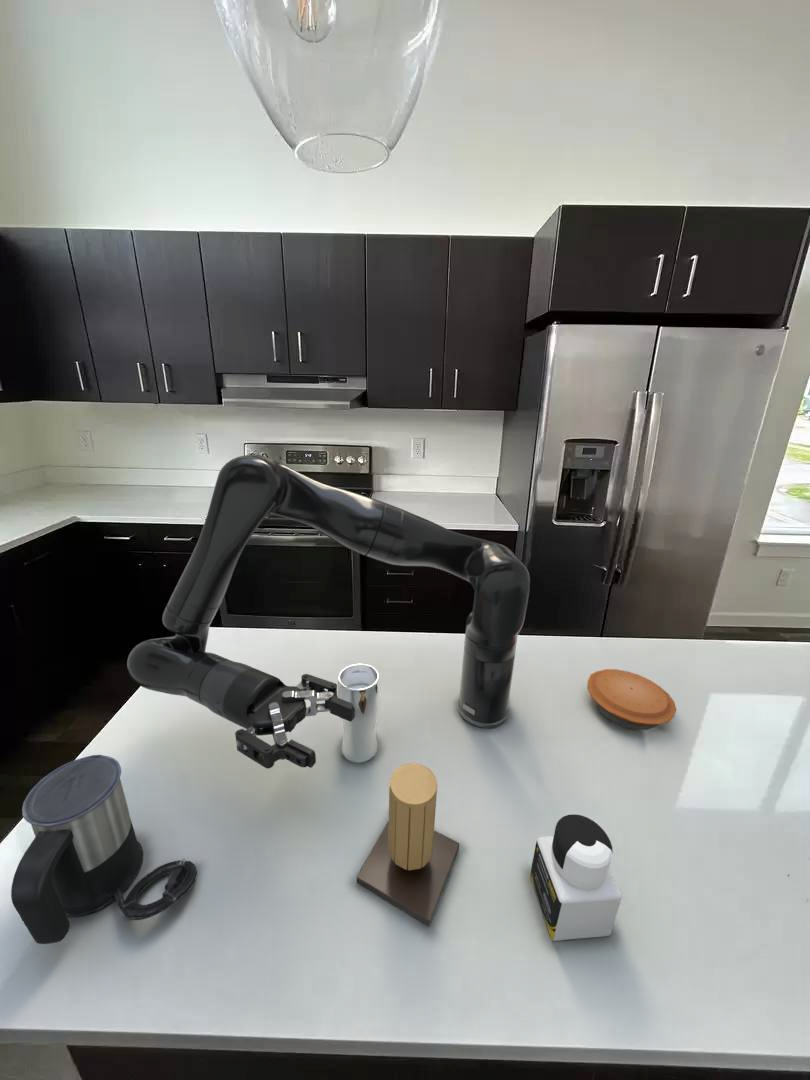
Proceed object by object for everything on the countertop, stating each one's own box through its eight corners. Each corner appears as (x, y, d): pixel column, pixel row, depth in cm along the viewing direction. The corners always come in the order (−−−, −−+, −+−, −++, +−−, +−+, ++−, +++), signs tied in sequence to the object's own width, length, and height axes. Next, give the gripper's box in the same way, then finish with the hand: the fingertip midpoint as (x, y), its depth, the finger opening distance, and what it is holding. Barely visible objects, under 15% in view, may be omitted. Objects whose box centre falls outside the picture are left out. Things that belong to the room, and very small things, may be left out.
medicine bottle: (528, 874, 55) (541, 807, 51) (581, 870, 55) (598, 803, 51) (551, 942, 48) (568, 871, 44) (611, 937, 49) (633, 866, 45)
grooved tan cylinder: (400, 817, 58) (402, 756, 54) (440, 837, 55) (445, 774, 52) (380, 855, 53) (380, 790, 49) (422, 879, 51) (426, 813, 47)
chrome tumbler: (373, 769, 69) (373, 694, 64) (333, 761, 70) (330, 686, 65) (384, 736, 76) (385, 666, 70) (346, 729, 77) (345, 660, 72)
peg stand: (394, 816, 62) (395, 741, 57) (459, 849, 58) (467, 771, 53) (356, 883, 53) (354, 802, 49) (429, 927, 49) (435, 843, 44)
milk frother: (67, 852, 56) (37, 767, 51) (200, 809, 62) (184, 730, 57) (28, 985, 44) (-18, 890, 39) (197, 916, 50) (177, 826, 45)
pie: (649, 686, 90) (655, 666, 89) (687, 743, 76) (695, 721, 74) (575, 680, 92) (578, 660, 90) (598, 735, 77) (603, 713, 76)
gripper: (195, 703, 54) (296, 753, 47) (275, 646, 66) (364, 679, 59) (203, 748, 56) (300, 802, 50) (278, 686, 68) (364, 722, 62)
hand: (335, 735), depth 54 cm, fingers open, 8 cm apart
